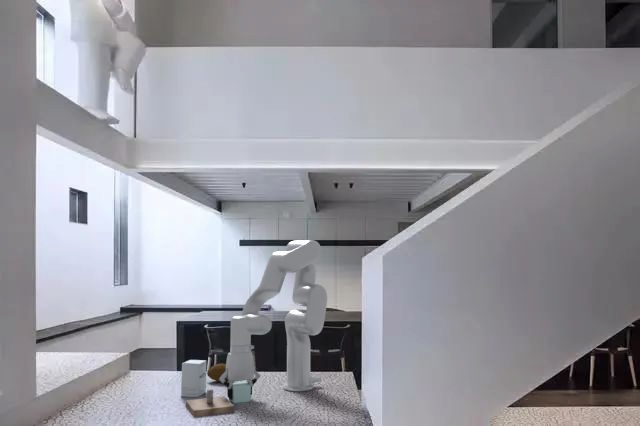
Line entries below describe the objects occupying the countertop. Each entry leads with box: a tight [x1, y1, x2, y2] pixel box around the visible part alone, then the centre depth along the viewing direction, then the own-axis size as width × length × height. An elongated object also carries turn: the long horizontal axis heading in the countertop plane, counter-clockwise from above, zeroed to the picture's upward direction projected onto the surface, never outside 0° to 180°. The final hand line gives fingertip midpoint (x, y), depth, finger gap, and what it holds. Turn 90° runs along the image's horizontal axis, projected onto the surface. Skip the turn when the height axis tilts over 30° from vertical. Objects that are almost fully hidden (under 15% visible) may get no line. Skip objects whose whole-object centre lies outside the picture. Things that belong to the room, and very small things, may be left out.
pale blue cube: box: [230, 381, 252, 404], centre depth 205 cm, size 6×6×6 cm
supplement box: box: [180, 359, 207, 398], centre depth 213 cm, size 7×7×13 cm
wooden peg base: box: [185, 388, 236, 418], centre depth 194 cm, size 14×14×6 cm
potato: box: [206, 363, 229, 383], centre depth 234 cm, size 8×12×8 cm, turn 91°
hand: (239, 397), depth 205 cm, fingers closed on pale blue cube, 6 cm apart
